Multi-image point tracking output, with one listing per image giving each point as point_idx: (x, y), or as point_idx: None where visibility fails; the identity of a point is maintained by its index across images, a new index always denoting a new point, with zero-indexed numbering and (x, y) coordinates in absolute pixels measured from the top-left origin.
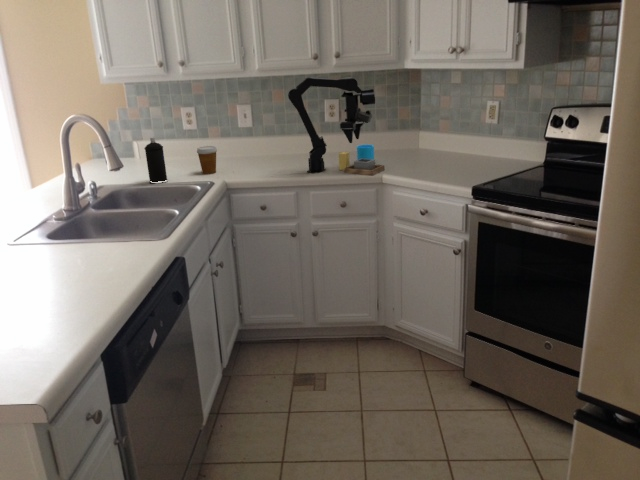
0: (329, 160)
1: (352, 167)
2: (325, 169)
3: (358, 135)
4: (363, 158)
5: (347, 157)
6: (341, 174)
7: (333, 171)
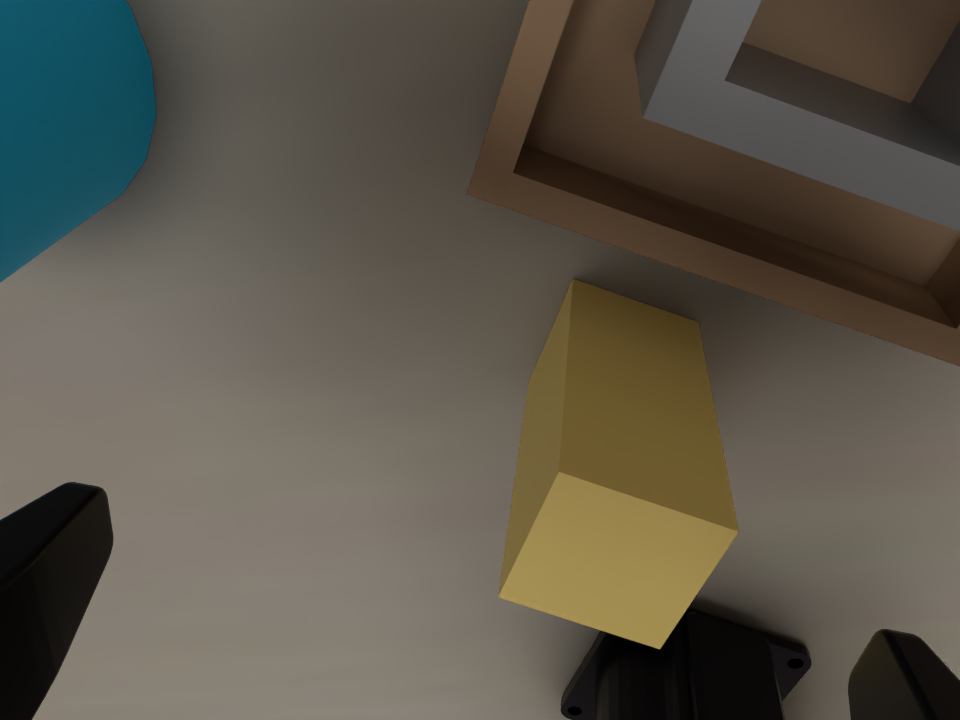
0: None
1: (734, 239)
2: None
3: (16, 591)
4: (91, 117)
5: (643, 436)
6: None
7: None
